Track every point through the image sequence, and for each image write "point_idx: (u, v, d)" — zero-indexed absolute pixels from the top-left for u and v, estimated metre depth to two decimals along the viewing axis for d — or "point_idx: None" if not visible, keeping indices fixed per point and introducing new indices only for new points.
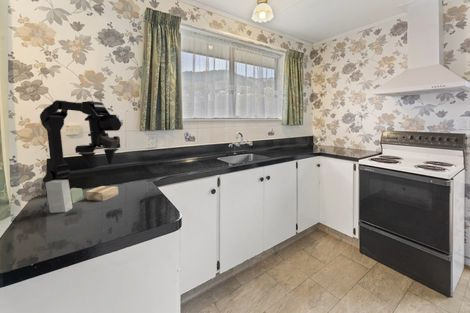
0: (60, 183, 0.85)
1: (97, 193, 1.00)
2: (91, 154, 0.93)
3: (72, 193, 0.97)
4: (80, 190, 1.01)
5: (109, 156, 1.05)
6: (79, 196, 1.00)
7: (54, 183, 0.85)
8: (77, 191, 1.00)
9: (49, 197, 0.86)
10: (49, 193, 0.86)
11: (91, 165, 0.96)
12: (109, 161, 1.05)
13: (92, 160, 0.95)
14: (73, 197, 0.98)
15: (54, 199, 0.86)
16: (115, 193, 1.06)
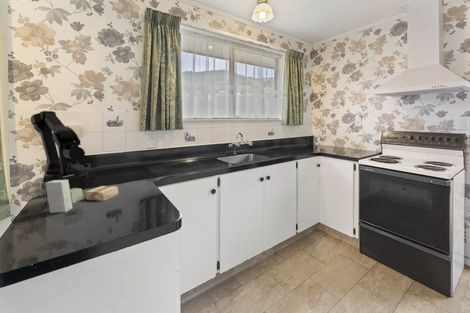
0: (60, 183, 0.85)
1: (97, 193, 1.00)
2: None
3: (72, 193, 0.97)
4: (80, 190, 1.01)
5: (81, 182, 1.04)
6: (79, 196, 1.00)
7: (54, 183, 0.85)
8: (77, 191, 1.00)
9: (49, 197, 0.86)
10: (49, 193, 0.86)
11: None
12: (81, 187, 1.04)
13: None
14: (73, 197, 0.98)
15: (54, 199, 0.86)
16: (115, 193, 1.06)
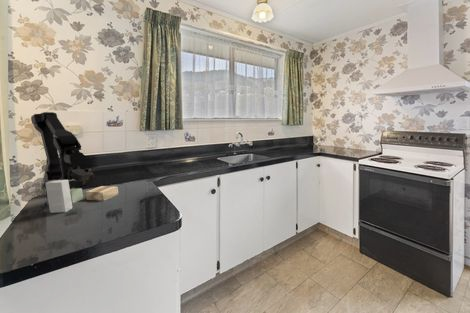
0: (60, 183, 0.85)
1: (97, 193, 1.00)
2: None
3: (72, 193, 0.97)
4: (80, 190, 1.01)
5: None
6: (79, 196, 1.00)
7: (54, 183, 0.85)
8: (77, 191, 1.00)
9: (49, 197, 0.86)
10: (49, 193, 0.86)
11: None
12: None
13: None
14: (73, 197, 0.98)
15: (54, 199, 0.86)
16: (115, 193, 1.06)
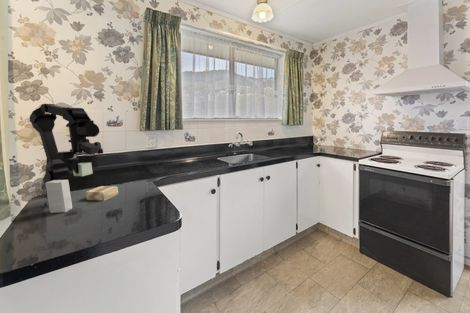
0: (60, 183, 0.85)
1: (98, 193, 1.00)
2: (75, 160, 0.94)
3: (82, 166, 0.97)
4: (89, 164, 1.01)
5: None
6: (88, 170, 1.00)
7: (54, 183, 0.85)
8: (86, 165, 0.99)
9: (49, 197, 0.86)
10: (49, 193, 0.86)
11: (75, 170, 0.97)
12: None
13: (76, 166, 0.96)
14: (83, 170, 0.97)
15: (54, 199, 0.86)
16: (115, 193, 1.06)
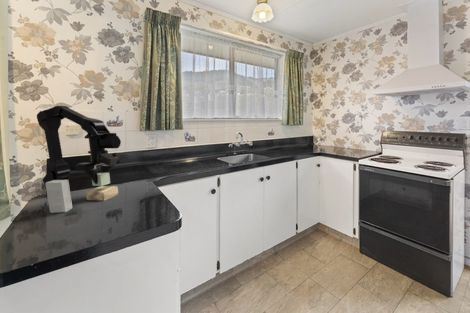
0: (60, 183, 0.85)
1: (98, 193, 1.00)
2: (95, 171, 0.98)
3: (101, 176, 1.01)
4: (107, 174, 1.04)
5: None
6: (107, 180, 1.04)
7: (54, 183, 0.85)
8: (105, 175, 1.03)
9: (49, 197, 0.86)
10: (49, 193, 0.86)
11: (95, 181, 1.01)
12: None
13: (96, 176, 1.00)
14: (101, 180, 1.01)
15: (54, 199, 0.86)
16: (115, 193, 1.07)
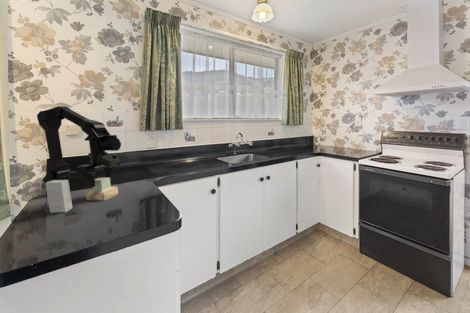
0: (60, 183, 0.85)
1: (98, 193, 1.00)
2: (92, 174, 0.96)
3: (101, 181, 1.01)
4: (108, 179, 1.05)
5: (108, 174, 1.08)
6: (107, 185, 1.04)
7: (54, 183, 0.85)
8: (106, 180, 1.03)
9: (49, 197, 0.86)
10: (49, 193, 0.86)
11: (92, 184, 0.99)
12: None
13: (93, 179, 0.98)
14: (102, 185, 1.01)
15: (54, 199, 0.86)
16: (115, 193, 1.07)
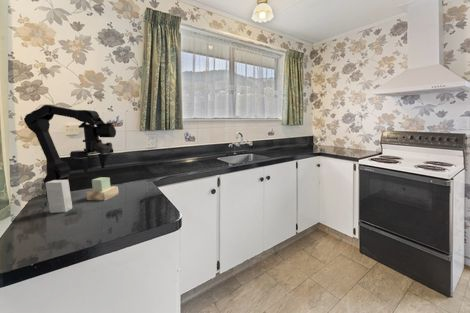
0: (60, 183, 0.85)
1: (98, 193, 1.00)
2: (84, 159, 1.01)
3: (101, 181, 1.01)
4: (108, 179, 1.05)
5: (102, 160, 1.12)
6: (107, 185, 1.04)
7: (54, 183, 0.85)
8: (105, 180, 1.03)
9: (49, 197, 0.86)
10: (49, 193, 0.86)
11: (84, 169, 1.04)
12: (102, 165, 1.13)
13: (85, 164, 1.03)
14: (102, 185, 1.01)
15: (54, 199, 0.86)
16: (115, 193, 1.07)
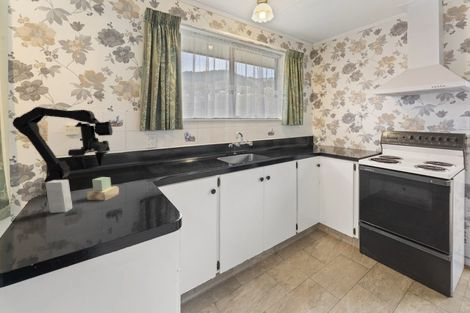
0: (60, 183, 0.85)
1: (99, 193, 1.00)
2: (82, 157, 1.05)
3: (102, 181, 1.01)
4: (108, 179, 1.05)
5: (99, 158, 1.17)
6: (107, 184, 1.04)
7: (54, 183, 0.85)
8: (106, 180, 1.03)
9: (49, 197, 0.86)
10: (49, 193, 0.86)
11: (82, 166, 1.08)
12: (99, 163, 1.17)
13: (83, 162, 1.07)
14: (103, 185, 1.02)
15: (54, 199, 0.86)
16: (116, 193, 1.07)
